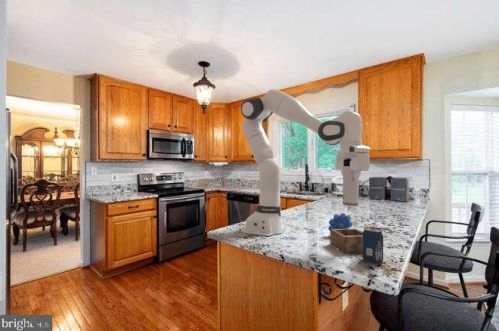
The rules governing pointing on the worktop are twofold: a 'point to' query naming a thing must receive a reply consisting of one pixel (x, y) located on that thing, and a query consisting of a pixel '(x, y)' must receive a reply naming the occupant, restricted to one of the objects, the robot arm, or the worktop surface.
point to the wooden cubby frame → (347, 240)
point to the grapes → (340, 222)
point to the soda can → (372, 245)
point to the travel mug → (349, 185)
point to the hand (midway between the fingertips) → (350, 181)
